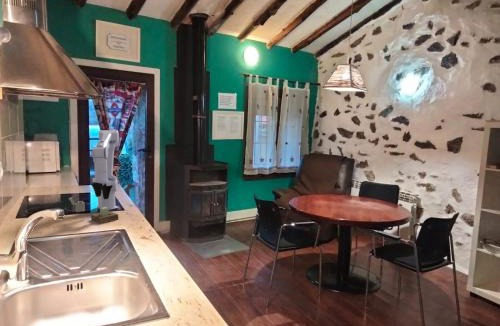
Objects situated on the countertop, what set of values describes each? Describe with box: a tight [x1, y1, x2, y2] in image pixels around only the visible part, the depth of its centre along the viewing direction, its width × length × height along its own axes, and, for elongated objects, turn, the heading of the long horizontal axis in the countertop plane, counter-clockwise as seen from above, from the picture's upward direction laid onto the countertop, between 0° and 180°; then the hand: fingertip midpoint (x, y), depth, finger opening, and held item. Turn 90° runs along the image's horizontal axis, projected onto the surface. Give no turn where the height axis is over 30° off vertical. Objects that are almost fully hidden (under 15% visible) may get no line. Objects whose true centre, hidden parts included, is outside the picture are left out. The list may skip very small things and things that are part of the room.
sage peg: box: [99, 207, 109, 216], centre depth 163 cm, size 3×3×6 cm
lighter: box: [68, 196, 86, 213], centre depth 175 cm, size 7×2×8 cm, turn 130°
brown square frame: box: [90, 210, 119, 225], centre depth 163 cm, size 9×9×2 cm
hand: (102, 197), depth 168 cm, fingers open, 7 cm apart
